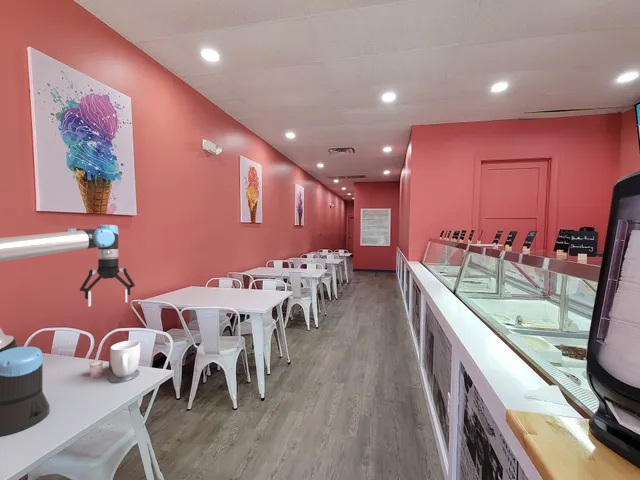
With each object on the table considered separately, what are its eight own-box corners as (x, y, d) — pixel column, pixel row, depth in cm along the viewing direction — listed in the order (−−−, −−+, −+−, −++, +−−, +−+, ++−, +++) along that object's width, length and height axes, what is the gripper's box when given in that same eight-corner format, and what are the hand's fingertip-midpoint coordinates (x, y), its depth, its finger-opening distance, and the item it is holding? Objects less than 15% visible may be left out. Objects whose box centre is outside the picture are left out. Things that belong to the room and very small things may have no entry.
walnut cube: (111, 371, 130) (111, 362, 130) (108, 368, 132) (108, 360, 132) (121, 368, 133) (121, 359, 133) (118, 365, 136) (118, 357, 136)
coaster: (109, 385, 118) (109, 384, 118) (108, 375, 127) (108, 373, 127) (140, 377, 124) (140, 376, 124) (138, 368, 133) (138, 367, 133)
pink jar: (89, 379, 123) (89, 365, 123) (89, 374, 127) (89, 361, 127) (102, 375, 126) (102, 363, 126) (102, 371, 129) (102, 359, 129)
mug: (140, 379, 122) (140, 349, 122) (108, 386, 116) (108, 355, 115) (139, 366, 134) (139, 338, 134) (111, 371, 128) (111, 343, 128)
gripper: (71, 260, 120) (71, 309, 121) (140, 257, 134) (140, 302, 135) (74, 258, 127) (74, 305, 127) (140, 256, 141) (140, 299, 141)
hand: (108, 304), depth 131 cm, fingers open, 13 cm apart
